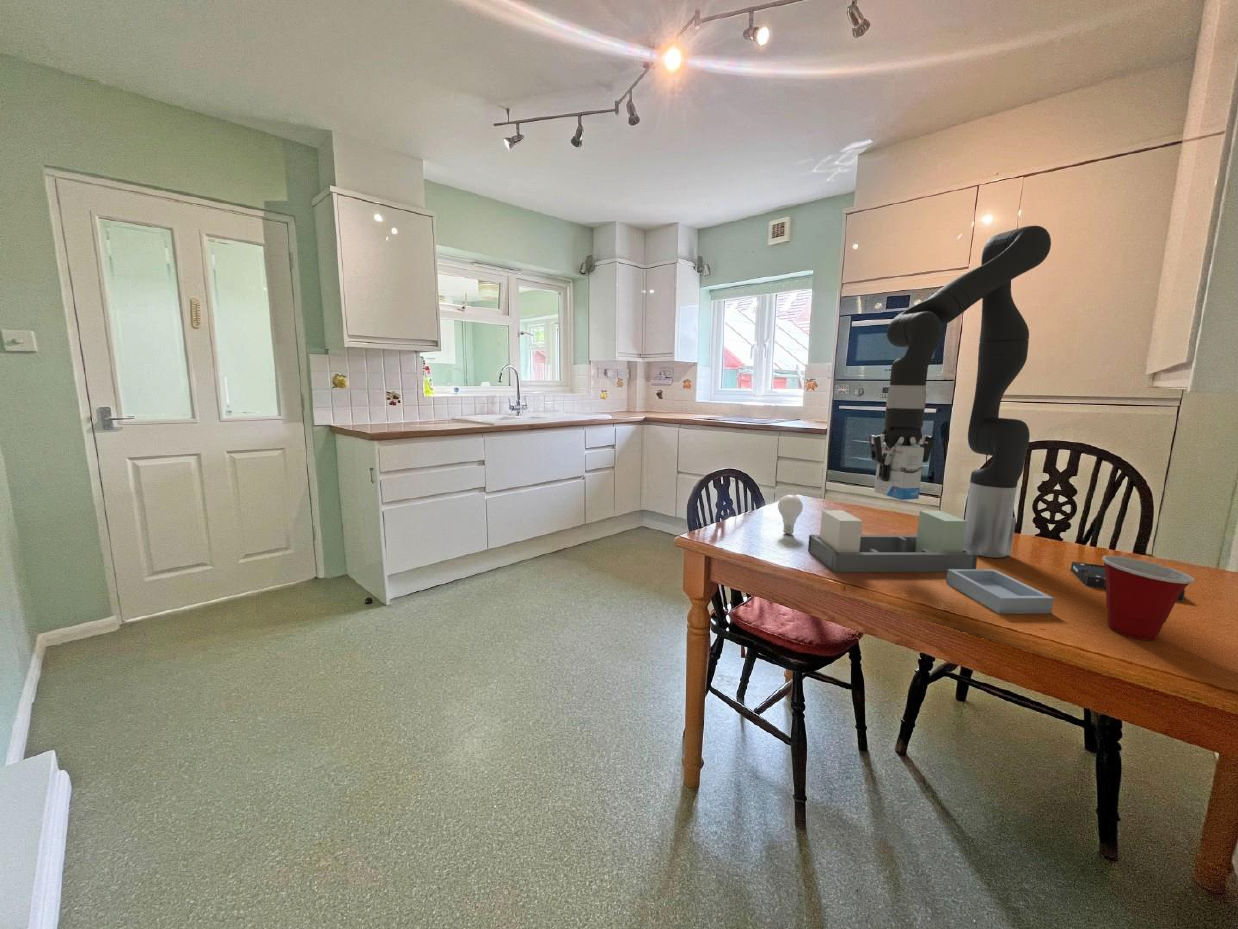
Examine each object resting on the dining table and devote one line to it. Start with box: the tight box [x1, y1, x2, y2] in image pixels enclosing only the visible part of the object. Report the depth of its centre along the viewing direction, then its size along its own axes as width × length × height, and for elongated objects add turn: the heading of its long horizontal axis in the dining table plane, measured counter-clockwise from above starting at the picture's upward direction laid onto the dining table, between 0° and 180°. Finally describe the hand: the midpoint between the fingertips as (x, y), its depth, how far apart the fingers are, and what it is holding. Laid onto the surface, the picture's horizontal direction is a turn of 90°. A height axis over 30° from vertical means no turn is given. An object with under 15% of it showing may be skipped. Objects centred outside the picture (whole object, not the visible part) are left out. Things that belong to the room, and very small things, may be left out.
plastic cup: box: [1101, 555, 1195, 641], centre depth 84 cm, size 11×11×12 cm
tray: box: [945, 568, 1055, 615], centre depth 98 cm, size 10×14×3 cm
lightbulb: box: [777, 494, 804, 535], centre depth 136 cm, size 6×6×11 cm
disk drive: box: [1070, 561, 1186, 602], centre depth 106 cm, size 10×3×15 cm
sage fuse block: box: [915, 510, 967, 552], centre depth 117 cm, size 5×9×11 cm, turn 3°
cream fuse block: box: [819, 509, 863, 552], centre depth 116 cm, size 5×9×11 cm, turn 3°
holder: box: [807, 534, 979, 573], centre depth 117 cm, size 32×14×4 cm, turn 93°
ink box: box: [874, 442, 924, 501], centre depth 114 cm, size 8×5×12 cm, turn 13°
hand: (897, 480), depth 114 cm, fingers closed on ink box, 5 cm apart
